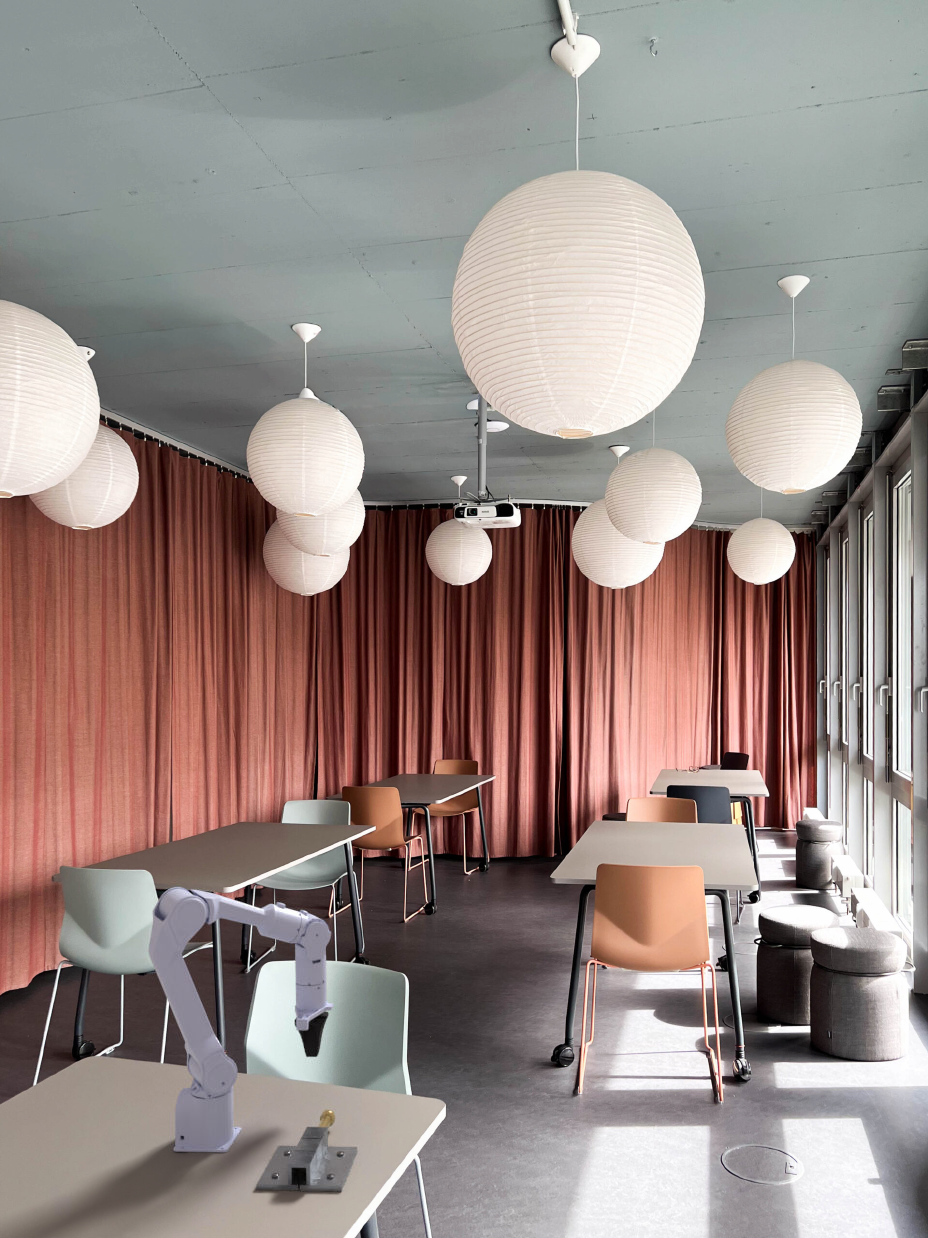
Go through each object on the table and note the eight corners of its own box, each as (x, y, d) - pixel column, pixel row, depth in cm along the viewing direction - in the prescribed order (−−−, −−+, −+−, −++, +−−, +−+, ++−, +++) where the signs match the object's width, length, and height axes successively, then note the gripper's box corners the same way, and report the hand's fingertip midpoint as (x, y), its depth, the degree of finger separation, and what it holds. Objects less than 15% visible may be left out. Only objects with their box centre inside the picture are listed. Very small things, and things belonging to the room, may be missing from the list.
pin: (300, 1165, 150) (300, 1149, 150) (321, 1125, 164) (320, 1109, 164) (316, 1166, 150) (316, 1149, 150) (335, 1125, 163) (335, 1110, 164)
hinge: (256, 1189, 145) (256, 1163, 145) (278, 1150, 156) (278, 1126, 157) (341, 1191, 143) (341, 1165, 144) (357, 1152, 155) (356, 1127, 156)
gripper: (323, 994, 165) (324, 1072, 164) (340, 968, 179) (341, 1040, 178) (284, 994, 165) (285, 1072, 165) (304, 969, 180) (306, 1040, 179)
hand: (312, 1055), depth 172 cm, fingers closed
